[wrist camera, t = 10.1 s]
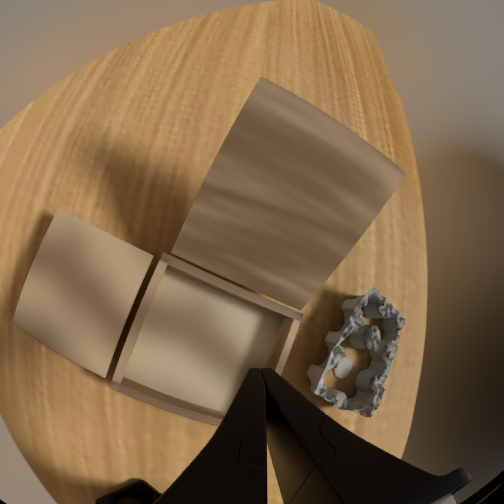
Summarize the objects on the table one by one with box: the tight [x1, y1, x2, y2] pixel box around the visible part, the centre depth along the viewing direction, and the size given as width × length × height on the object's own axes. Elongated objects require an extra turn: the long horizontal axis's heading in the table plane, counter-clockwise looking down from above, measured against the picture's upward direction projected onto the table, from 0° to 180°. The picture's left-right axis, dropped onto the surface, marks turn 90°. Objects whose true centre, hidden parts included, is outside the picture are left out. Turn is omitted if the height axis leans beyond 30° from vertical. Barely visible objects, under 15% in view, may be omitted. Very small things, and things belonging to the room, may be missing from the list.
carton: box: [12, 207, 303, 426], centre depth 18 cm, size 10×20×2 cm, turn 68°
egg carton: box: [306, 287, 405, 417], centre depth 22 cm, size 11×8×4 cm
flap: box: [171, 76, 406, 310], centre depth 16 cm, size 1×10×12 cm
